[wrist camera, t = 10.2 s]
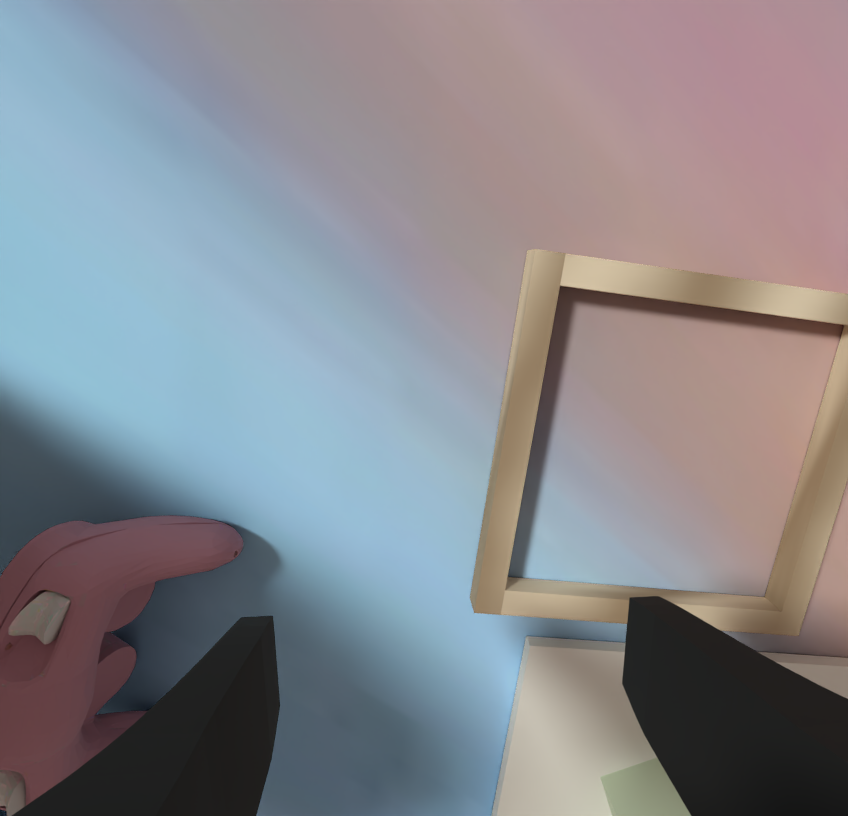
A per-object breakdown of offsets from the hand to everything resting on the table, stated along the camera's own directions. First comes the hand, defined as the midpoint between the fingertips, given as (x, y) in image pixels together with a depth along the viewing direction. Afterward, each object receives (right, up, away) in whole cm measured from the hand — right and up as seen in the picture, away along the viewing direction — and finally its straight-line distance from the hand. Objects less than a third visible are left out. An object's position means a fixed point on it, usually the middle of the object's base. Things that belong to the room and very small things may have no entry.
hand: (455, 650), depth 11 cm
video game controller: (-11, -3, +10) cm, 15 cm away
